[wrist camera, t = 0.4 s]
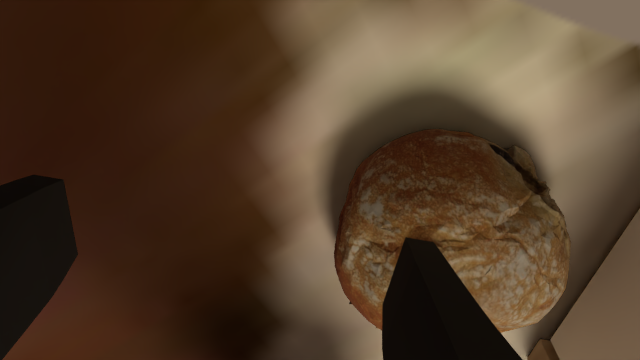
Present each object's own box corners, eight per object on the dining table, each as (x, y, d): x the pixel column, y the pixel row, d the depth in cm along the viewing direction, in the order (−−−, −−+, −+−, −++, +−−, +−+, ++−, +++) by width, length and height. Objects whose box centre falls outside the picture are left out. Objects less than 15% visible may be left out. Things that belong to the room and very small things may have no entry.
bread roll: (535, 172, 22) (678, 201, 15) (454, 339, 23) (548, 451, 15) (372, 96, 21) (434, 82, 13) (292, 279, 22) (304, 369, 14)
